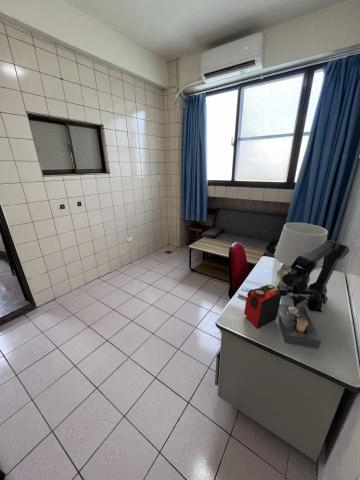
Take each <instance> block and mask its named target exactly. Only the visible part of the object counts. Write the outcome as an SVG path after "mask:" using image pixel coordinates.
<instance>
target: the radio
mask: <svg viewBox="0 0 360 480" xmlns="http://www.w3.org/2000/svg"><path fill="white" fill-rule="evenodd" d="M280 294H281V293H280V292H279V289H278V288H276V287H275V286H273V285H272V284H266V285H263V286H260V288H259V287H258V288H254V289H250V290H249V291H248V292H247V297H246V299H245V304H244V305H245V306H244V311H243V312H244V313H243V314H244V316H246V317H245V319H246V320H247V321H248V322H249V323H251V325H252V326H253V327H254V328H255V329H256V330H258V329H260V328H262V327H264V326H266V325H268V324H271V322H274V321H275V320H277V313H278V309H279V304H281V300H282V296H281V295H280Z"/></svg>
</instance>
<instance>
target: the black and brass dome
mask: <svg viewBox="0 0 360 480" xmlns="http://www.w3.org/2000/svg"><path fill="white" fill-rule="evenodd" d="M298 318H301V317H300V316H299V314H298V313H296V314H295V315H294V316H293V320H294V321H295V322H297V319H298Z"/></svg>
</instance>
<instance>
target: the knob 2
mask: <svg viewBox="0 0 360 480" xmlns="http://www.w3.org/2000/svg"><path fill="white" fill-rule="evenodd" d="M307 325H308V321H307V320H305V319H303V318H298V319H297V325H296V329H295V330H296V332H298V333H304V331H305V328H306V326H307Z"/></svg>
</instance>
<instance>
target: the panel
mask: <svg viewBox="0 0 360 480" xmlns="http://www.w3.org/2000/svg"><path fill="white" fill-rule="evenodd" d="M290 306H292V307H295V308H297V309H298V314H299V316H300V317H301V318H303V319H305V320H307V321H308V325H307V326H306V328H305V331H304V333H298V332H296V330H295V329H296V325H297V322H295V321H294V320H293V316H294V314H289V310H288V308H289V307H290ZM276 320H277V323H278V326H279V328H280V332H281V336H282V339H283V342H284V344H288V345H294V346H300V347H306V348H311V349H317V350H319V348H320V347H321V343H322V339H321V337H320V335H319V333H318V332H317V329H316V327H315V326H314V324H313V322H312V320H311V318H310V316H309V314H308V311H307V309H306V306H305V307H304V306H300V305H297V306H293V304H285V303H280V304H279V309H278V313H277V317H276Z"/></svg>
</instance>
